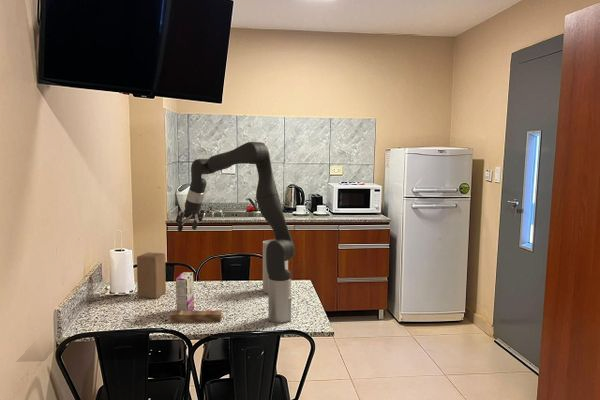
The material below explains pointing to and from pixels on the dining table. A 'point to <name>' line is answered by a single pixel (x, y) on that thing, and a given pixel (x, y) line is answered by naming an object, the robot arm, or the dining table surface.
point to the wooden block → (151, 275)
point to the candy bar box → (185, 292)
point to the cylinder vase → (265, 273)
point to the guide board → (196, 316)
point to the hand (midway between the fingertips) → (186, 230)
